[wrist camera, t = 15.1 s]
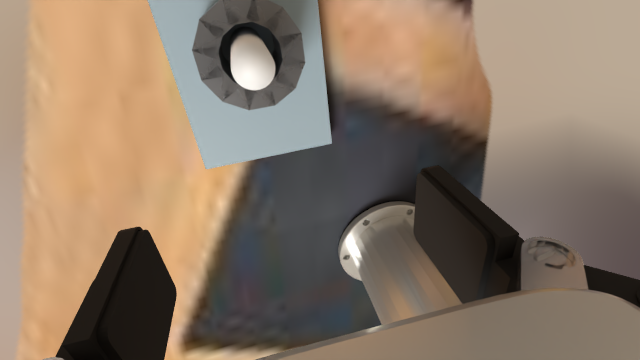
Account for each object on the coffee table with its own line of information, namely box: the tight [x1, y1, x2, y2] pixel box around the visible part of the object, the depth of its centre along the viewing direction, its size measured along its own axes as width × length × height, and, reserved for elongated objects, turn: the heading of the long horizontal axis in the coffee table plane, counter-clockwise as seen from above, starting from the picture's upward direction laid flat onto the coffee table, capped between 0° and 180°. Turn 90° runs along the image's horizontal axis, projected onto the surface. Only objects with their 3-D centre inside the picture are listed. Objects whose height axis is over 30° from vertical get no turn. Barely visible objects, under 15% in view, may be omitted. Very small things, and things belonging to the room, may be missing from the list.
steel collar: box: [192, 0, 305, 110], centre depth 23 cm, size 7×7×5 cm
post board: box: [148, 0, 332, 169], centre depth 22 cm, size 12×20×10 cm, turn 6°
